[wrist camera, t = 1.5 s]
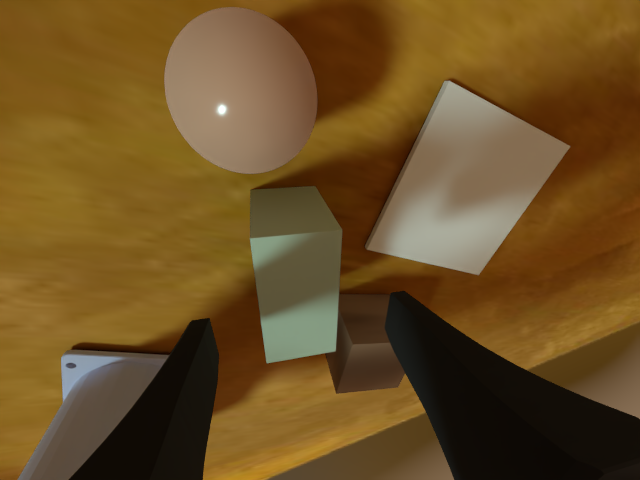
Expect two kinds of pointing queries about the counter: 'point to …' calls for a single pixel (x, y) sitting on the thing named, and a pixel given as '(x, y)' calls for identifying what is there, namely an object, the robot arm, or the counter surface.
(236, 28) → the pink cylinder
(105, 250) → the counter surface
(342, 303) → the walnut cube
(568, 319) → the counter surface
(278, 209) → the sage brick
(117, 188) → the counter surface
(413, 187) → the plate
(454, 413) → the robot arm
